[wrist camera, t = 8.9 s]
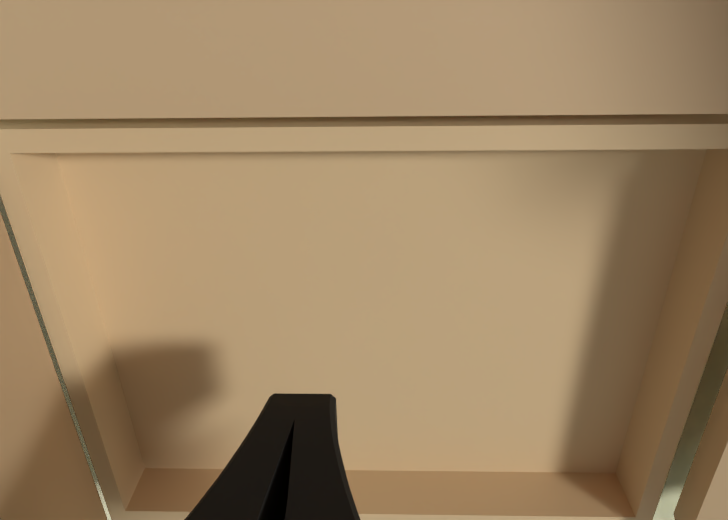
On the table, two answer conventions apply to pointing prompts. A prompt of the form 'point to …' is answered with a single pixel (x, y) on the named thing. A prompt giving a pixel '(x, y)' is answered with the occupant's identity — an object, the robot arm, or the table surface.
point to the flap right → (709, 468)
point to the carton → (376, 238)
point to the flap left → (35, 417)
